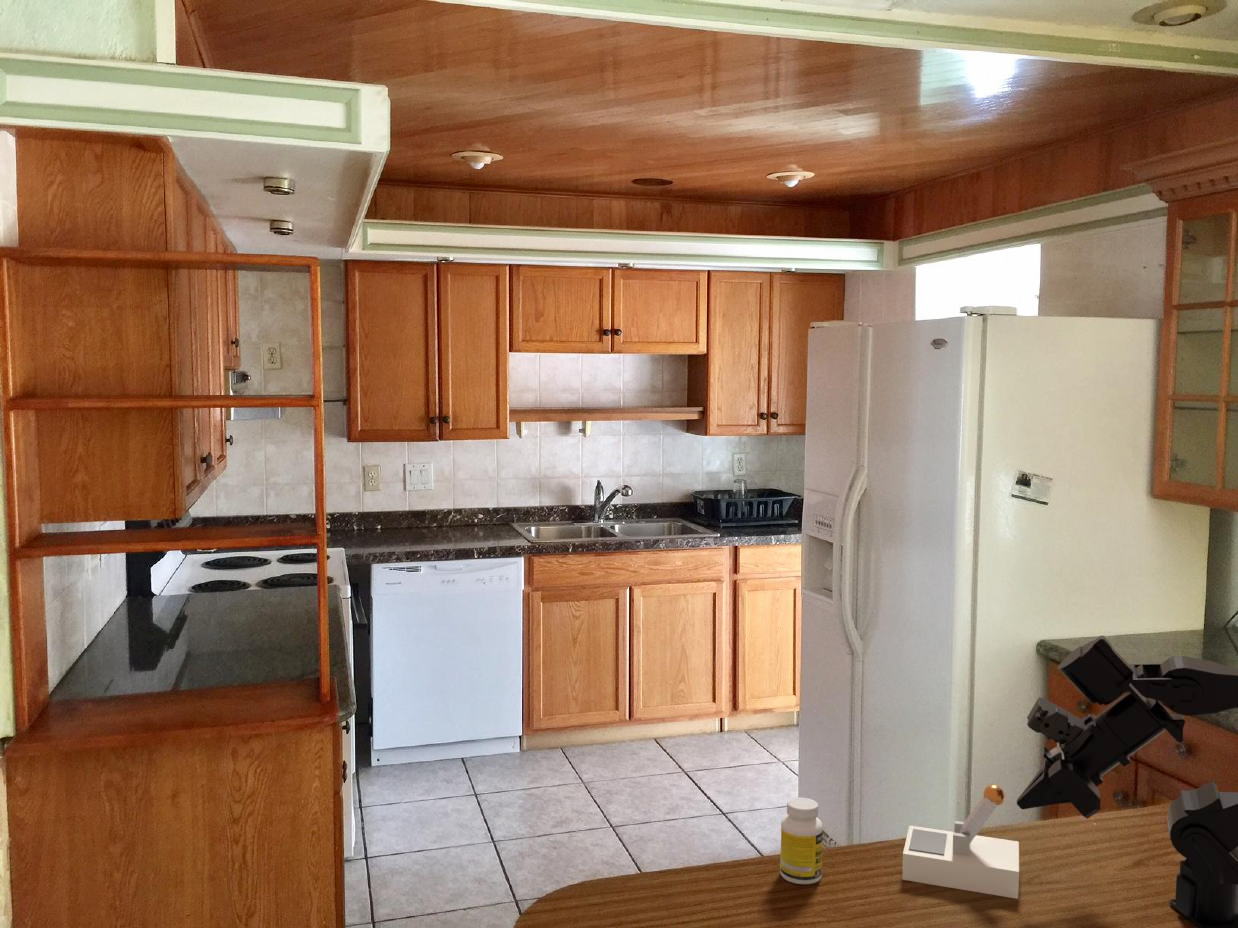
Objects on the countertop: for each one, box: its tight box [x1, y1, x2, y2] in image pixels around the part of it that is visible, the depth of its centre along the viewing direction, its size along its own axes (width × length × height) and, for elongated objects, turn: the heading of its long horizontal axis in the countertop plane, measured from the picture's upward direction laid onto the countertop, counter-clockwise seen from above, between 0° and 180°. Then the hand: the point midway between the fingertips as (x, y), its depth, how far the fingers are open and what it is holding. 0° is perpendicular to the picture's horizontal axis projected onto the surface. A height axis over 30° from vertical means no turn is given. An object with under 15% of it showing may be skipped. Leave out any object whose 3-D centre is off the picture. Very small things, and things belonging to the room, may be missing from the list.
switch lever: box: [960, 784, 1006, 843], centre depth 134 cm, size 3×3×10 cm
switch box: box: [902, 820, 1020, 900], centre depth 135 cm, size 14×9×6 cm, turn 69°
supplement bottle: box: [779, 797, 824, 885], centre depth 134 cm, size 5×5×10 cm
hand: (1018, 805), depth 132 cm, fingers closed
